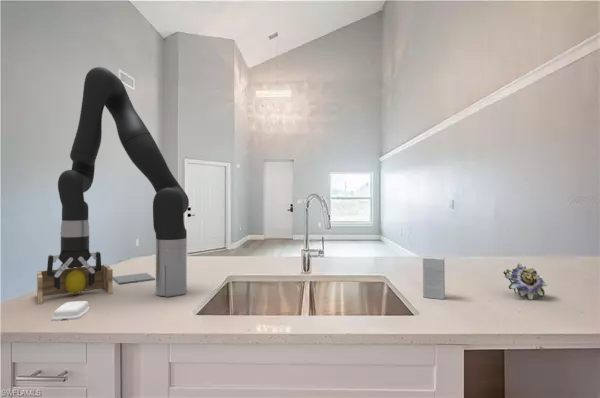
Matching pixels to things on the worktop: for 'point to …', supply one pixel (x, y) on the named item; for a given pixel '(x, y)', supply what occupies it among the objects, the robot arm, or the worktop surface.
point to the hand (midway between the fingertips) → (74, 287)
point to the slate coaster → (133, 278)
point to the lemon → (75, 281)
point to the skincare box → (433, 277)
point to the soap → (71, 311)
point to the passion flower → (525, 281)
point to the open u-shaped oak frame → (47, 282)
